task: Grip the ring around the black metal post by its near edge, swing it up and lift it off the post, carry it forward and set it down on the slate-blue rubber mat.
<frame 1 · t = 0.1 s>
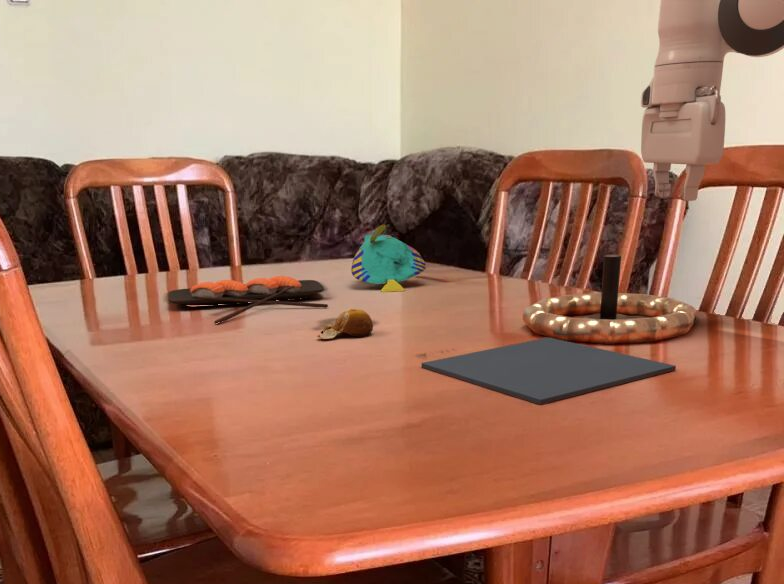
hand: (674, 198, 118), 17 cm above the table, tool pointing down, fingers open, 8 cm apart
fruit: (342, 335, 126), on the table
ring: (608, 316, 123), point 2 cm above the table
sushi plate: (250, 307, 152), on the table
decorative fish: (389, 285, 169), on the table
mat: (544, 368, 103), on the table
post: (607, 327, 124), on the table
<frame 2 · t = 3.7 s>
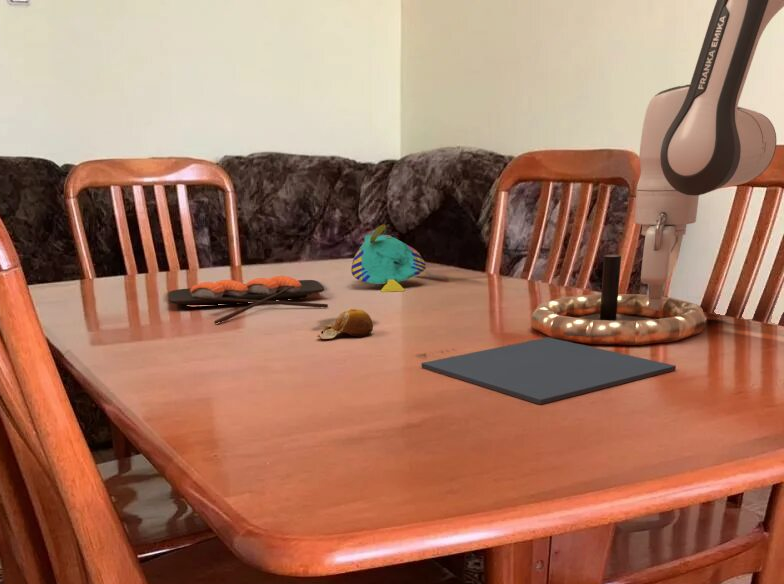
hand: (656, 306, 128), 2 cm above the table, tool pointing down, fingers closed on ring, 4 cm apart
ring: (616, 317, 122), point 2 cm above the table, touching gripper
everything else where it was.
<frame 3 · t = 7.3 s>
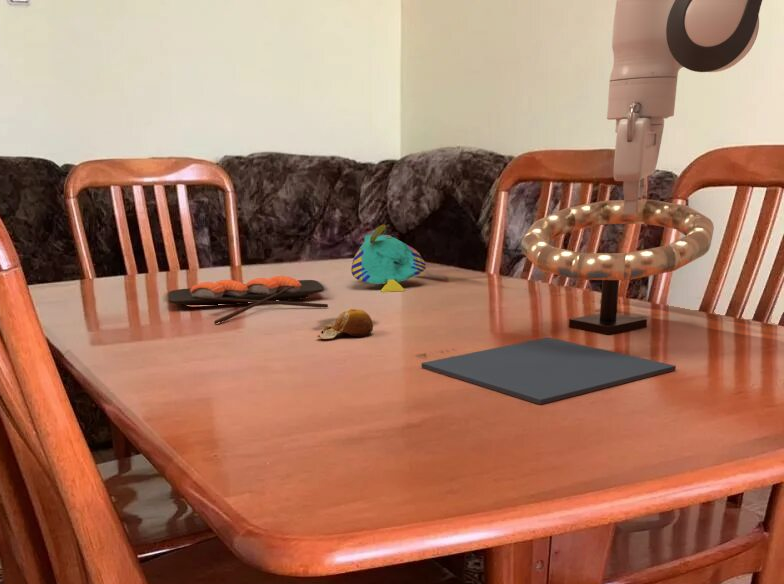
hand: (632, 212, 118), 16 cm above the table, tool pointing down, fingers closed on ring, 3 cm apart
ring: (615, 237, 111), point 13 cm above the table, tilted 13°, touching gripper
everything else where it was.
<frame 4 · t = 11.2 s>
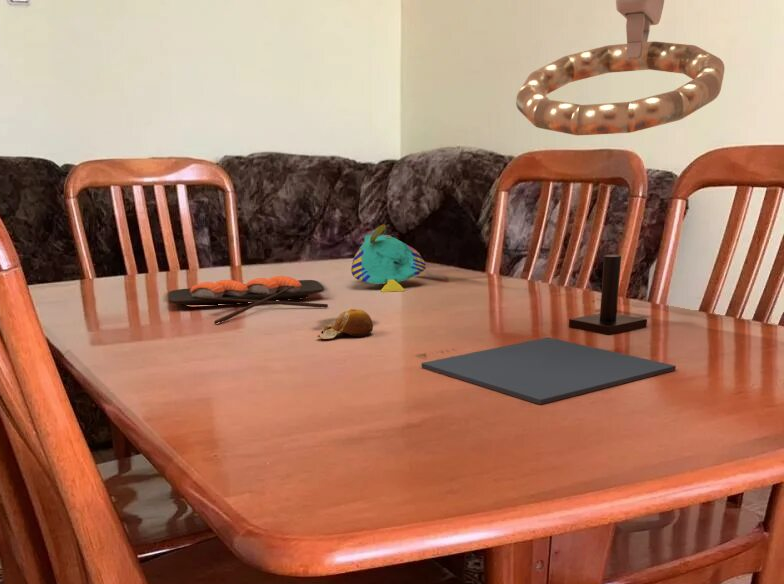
hand: (635, 59, 109), 35 cm above the table, tool pointing down, fingers closed on ring, 3 cm apart
ring: (617, 86, 103), point 31 cm above the table, tilted 21°, touching gripper
everything else where it was.
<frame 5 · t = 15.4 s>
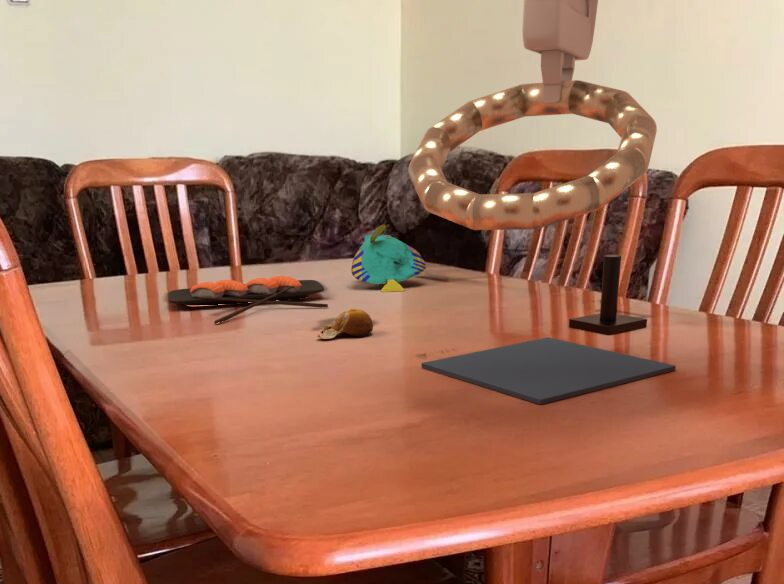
hand: (556, 103, 90), 29 cm above the table, tool pointing down, fingers closed on ring, 3 cm apart
ring: (528, 151, 85), point 25 cm above the table, tilted 28°, touching gripper
everything else where it was.
when the fingers open (17 cm above the table, at t = 18.8 s): ring drops 9 cm, resting on mat.
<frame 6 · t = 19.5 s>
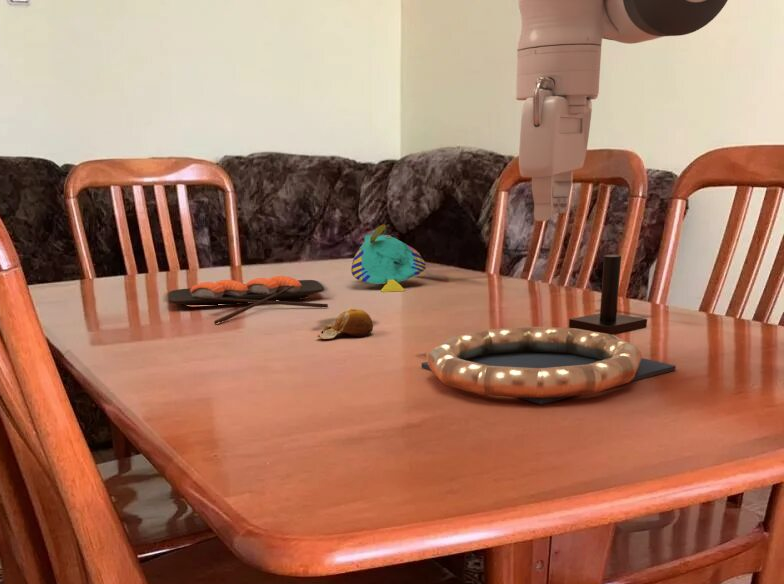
hand: (551, 216, 95), 18 cm above the table, tool pointing down, fingers open, 8 cm apart
ring: (532, 359, 98), point 2 cm above the table, touching mat
everything else where it was.
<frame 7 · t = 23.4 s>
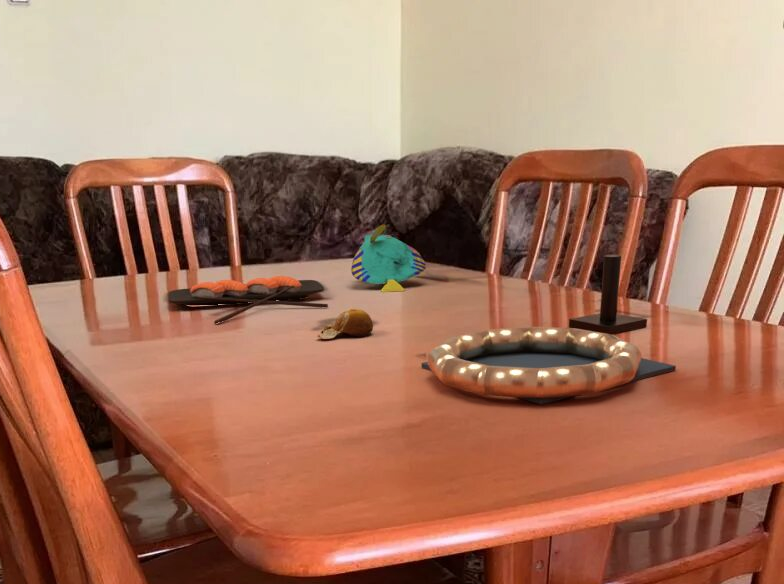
nothing on the table moved.
at the end: ring inside the target area on the mat (4.3 cm from its centre), point 2.2 cm above the mat's base; the gripper is holding nothing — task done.
